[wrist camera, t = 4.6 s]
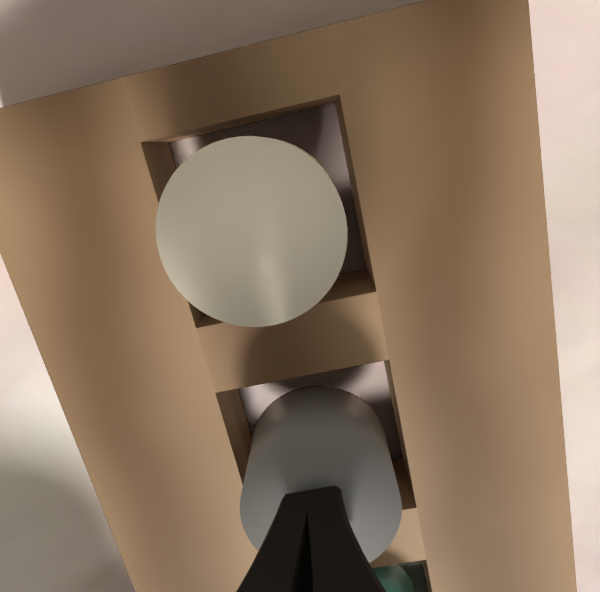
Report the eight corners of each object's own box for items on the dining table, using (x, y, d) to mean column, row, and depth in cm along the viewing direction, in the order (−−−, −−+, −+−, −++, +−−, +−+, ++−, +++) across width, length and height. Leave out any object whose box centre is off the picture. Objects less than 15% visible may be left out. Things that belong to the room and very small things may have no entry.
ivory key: (323, 121, 12) (325, 114, 10) (353, 274, 13) (363, 307, 11) (169, 157, 13) (130, 161, 10) (210, 304, 14) (185, 342, 11)
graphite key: (373, 374, 14) (387, 426, 12) (396, 490, 15) (413, 562, 13) (237, 399, 15) (221, 456, 12) (270, 511, 16) (261, 586, 13)
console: (488, 5, 13) (526, -25, 11) (551, 622, 20) (584, 689, 17) (7, 124, 15) (-53, 120, 12) (207, 671, 21) (194, 739, 18)
